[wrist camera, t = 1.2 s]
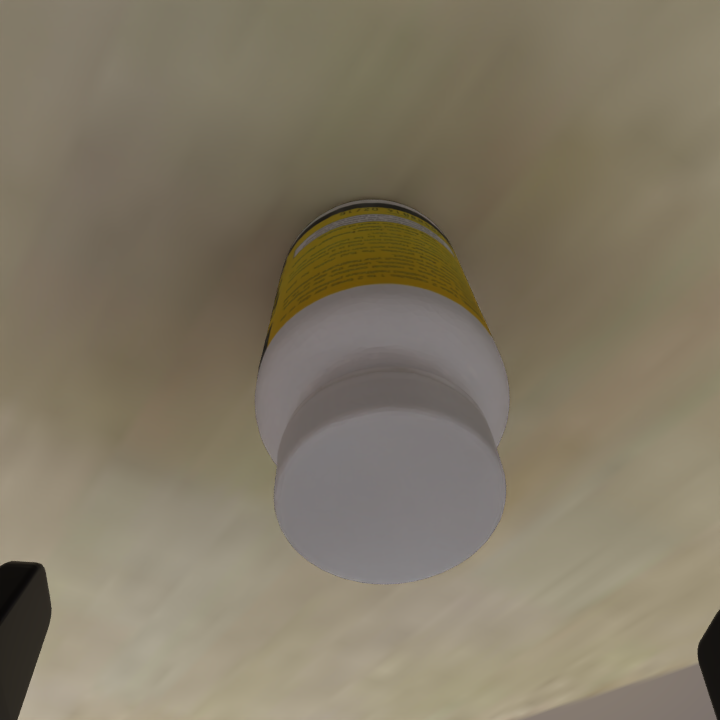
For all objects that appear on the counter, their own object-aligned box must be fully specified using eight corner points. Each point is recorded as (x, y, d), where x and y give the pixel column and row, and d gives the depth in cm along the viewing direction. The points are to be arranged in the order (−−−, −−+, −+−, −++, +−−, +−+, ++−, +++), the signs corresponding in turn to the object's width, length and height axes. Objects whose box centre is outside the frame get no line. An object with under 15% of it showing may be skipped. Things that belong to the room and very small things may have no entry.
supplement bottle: (252, 231, 18) (173, 425, 9) (430, 168, 17) (519, 318, 9) (318, 380, 21) (302, 639, 12) (475, 331, 20) (578, 570, 11)
